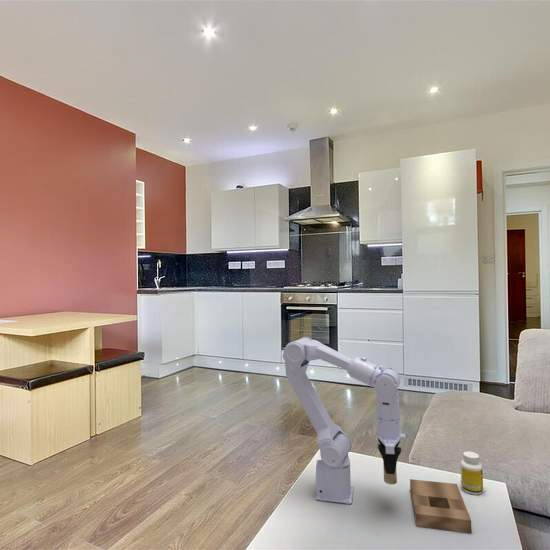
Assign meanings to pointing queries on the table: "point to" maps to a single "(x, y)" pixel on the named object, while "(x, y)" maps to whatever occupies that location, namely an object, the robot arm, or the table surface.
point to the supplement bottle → (471, 474)
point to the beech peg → (390, 477)
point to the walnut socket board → (439, 506)
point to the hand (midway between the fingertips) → (389, 469)
